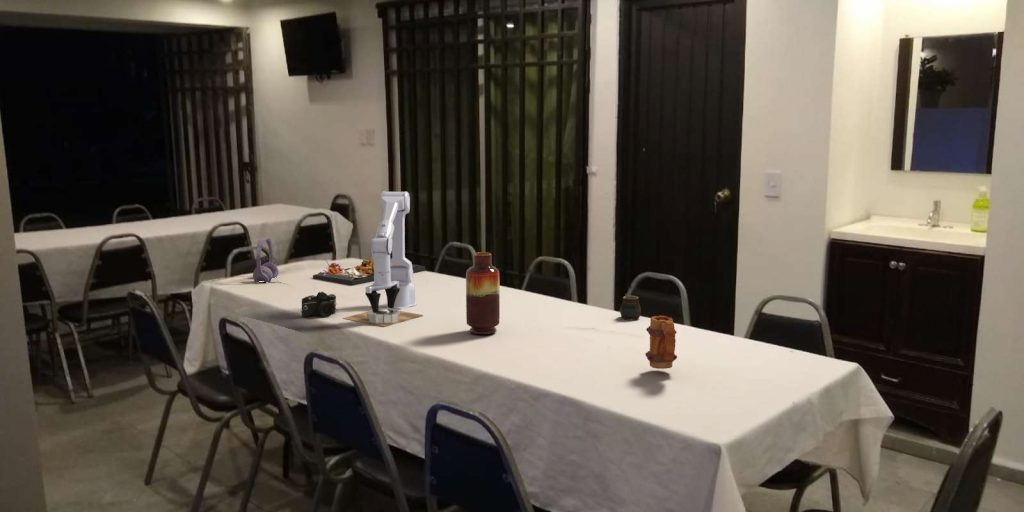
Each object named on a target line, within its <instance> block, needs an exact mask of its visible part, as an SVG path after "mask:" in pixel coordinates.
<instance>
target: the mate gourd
mask: <svg viewBox="0 0 1024 512" xmlns="http://www.w3.org/2000/svg"><path fill="white" fill-rule="evenodd" d="M624 295H625V296H623V297H622V303H621V306H620V310H619V311H620V312H619V314H620V315H621V316H620V317H621V318H622V319H623V318H624V320H627V319H636V320H639V319H640V318H641V313H642V310H641V305H640V301H639V296H636V295H628V294H627V293H624ZM638 318H639V319H638Z"/></svg>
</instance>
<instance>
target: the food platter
mask: <svg viewBox="0 0 1024 512" xmlns="http://www.w3.org/2000/svg"><path fill="white" fill-rule="evenodd" d="M325 261H326V263H327V265H328V267H325V269H326V270H327V271H326V270H325V269H324V270H322V271H323V272H322V271H320V272H318V273H316V274H313V275H312V279H313V280H318V281H319V280H320V281H324V282H330V283H336V284H340V285H345V286H352V287H353V286H358V285H364V284H368V283H374V259H372V258H370V259H369V260H368V259H363V260H362V261H361V264H360V265H356V266H354V267H348V268H344V267H341V265H340V264H339V263H336V262H332V263H331V264H329V263H328V261H327V260H325ZM392 266H397V265H392ZM412 269H413V274H416V273H421V272H425V271H426V266H425V265H418V264H412Z"/></svg>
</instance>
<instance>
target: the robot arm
mask: <svg viewBox="0 0 1024 512" xmlns="http://www.w3.org/2000/svg"><path fill="white" fill-rule="evenodd" d="M410 201H411V197H410V193H409V192H408V191H385V190H383V191H382V192H381V194H380V206H381V207H382V210H383V215H382V220H381V221H380V222H379V223H378V224H377V225H378V226H377V229H376V233H375V237H374V238H371V240H370V241H371V242H370V251H371V259H374V282H372V284H371V285H369V286H365V296H366V298H367V300H368V302H369V304H370V308H371V310H372V311H373V312H378V310H379V309H380V308H379V306H380V305H379V304H380V299H381V295H382V293H379V292H378V291H383V290H385V291H384V292H385V295H386V301H387V302H386V305H384V307H385V308H392V309H397V310H403V309H407V308H411V307H416V306H417V305H418V304H417V303H416V289H415V286H414V284H413V283H412V281H413V279H414V273H413V269H412V261H410V260H409V259H408V258H406V255H405V254H406V249H405V248H406V247H405V246H406V244H405V243H406V242H405V241H406V240H405V239H406V238H405V235H406V234H405V233H406V232H405V231H406V230H405V229H406V228H405V219H406V215H407V214H410V209H411V202H410ZM391 256H392V257H391ZM392 265H397V266H392Z"/></svg>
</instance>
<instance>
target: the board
mask: <svg viewBox="0 0 1024 512" xmlns="http://www.w3.org/2000/svg"><path fill="white" fill-rule="evenodd" d="M399 311H400V320H399V321H398V322H394V323H388V324H374V323H369V322H368V321H367V312H368V311H366V312H362V313H358V314H354V315H349V316H346V317H342V319H343V320H347V321H352V322H357V323H362V324H367V325H373V326H377V327H382V328H385V327H389V326H392V325H396V324H399V323H403V322H407V321H410V320H411V321H412V320H414V319H416V318H421V317H424V314H419V313H415V312H413V313H412V312H408V311H402V310H399Z"/></svg>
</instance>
